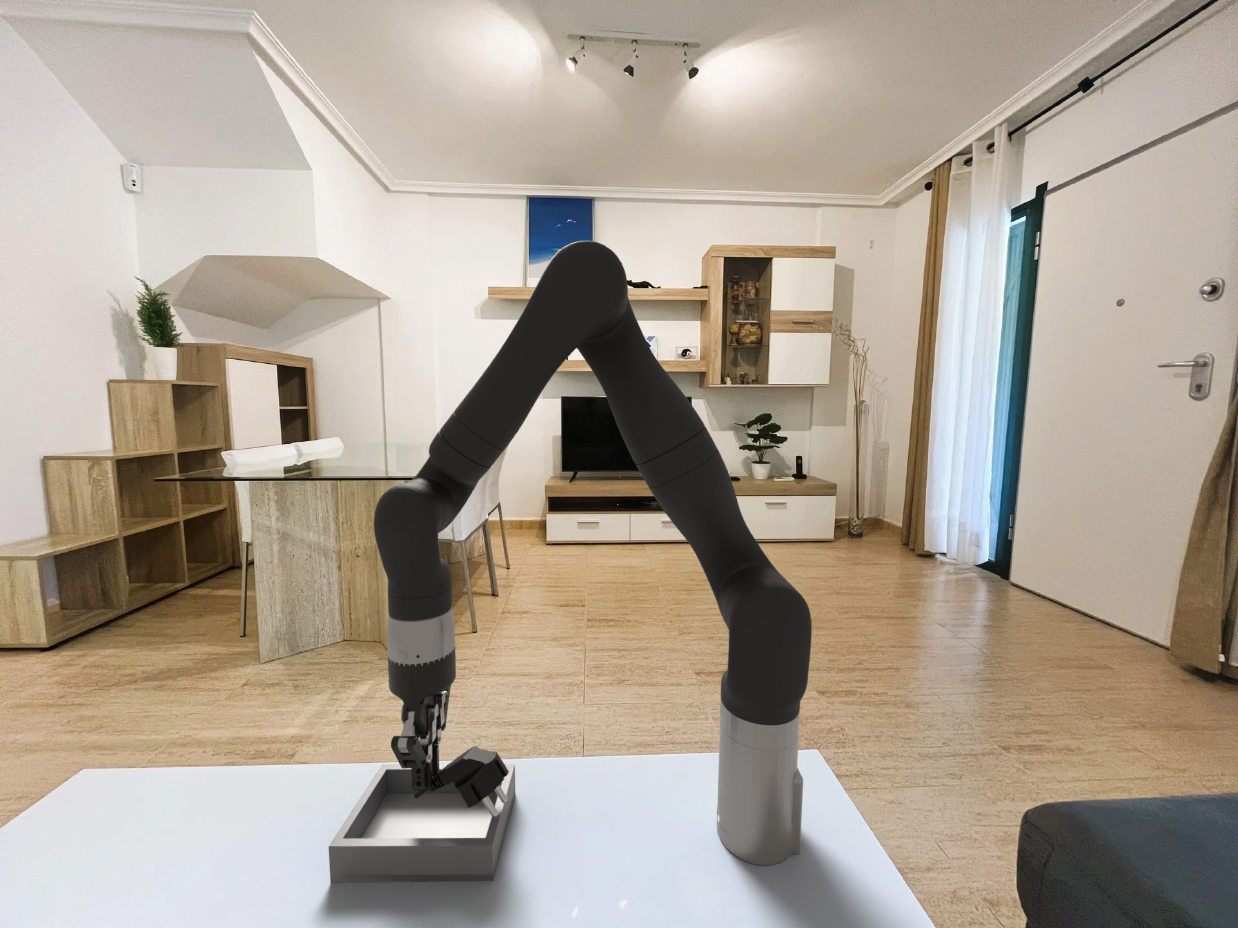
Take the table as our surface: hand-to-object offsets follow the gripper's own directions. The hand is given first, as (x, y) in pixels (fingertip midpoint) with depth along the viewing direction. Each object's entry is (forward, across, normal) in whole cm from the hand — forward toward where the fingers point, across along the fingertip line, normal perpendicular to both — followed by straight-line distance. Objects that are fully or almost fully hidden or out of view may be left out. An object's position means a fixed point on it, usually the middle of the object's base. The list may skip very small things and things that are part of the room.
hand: (426, 780), depth 62 cm
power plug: (+5, 0, 0) cm, 5 cm away
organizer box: (+7, 0, -1) cm, 7 cm away
